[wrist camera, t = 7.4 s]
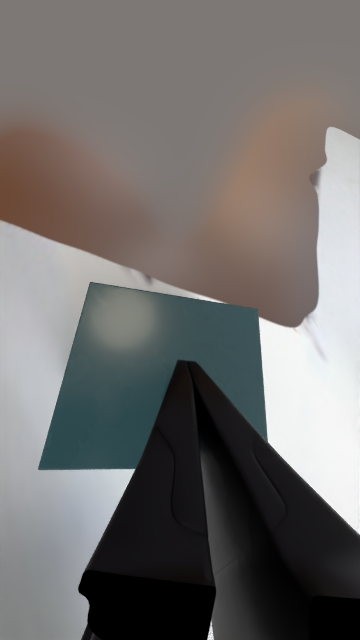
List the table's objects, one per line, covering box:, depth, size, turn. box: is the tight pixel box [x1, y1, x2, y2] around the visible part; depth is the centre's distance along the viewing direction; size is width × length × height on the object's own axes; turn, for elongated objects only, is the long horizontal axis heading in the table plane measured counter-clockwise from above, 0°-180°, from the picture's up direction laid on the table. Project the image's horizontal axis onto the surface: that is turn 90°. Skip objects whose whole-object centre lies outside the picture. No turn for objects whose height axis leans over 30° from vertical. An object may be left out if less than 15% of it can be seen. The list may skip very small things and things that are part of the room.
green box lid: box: [38, 282, 268, 470], centre depth 10 cm, size 9×11×1 cm
